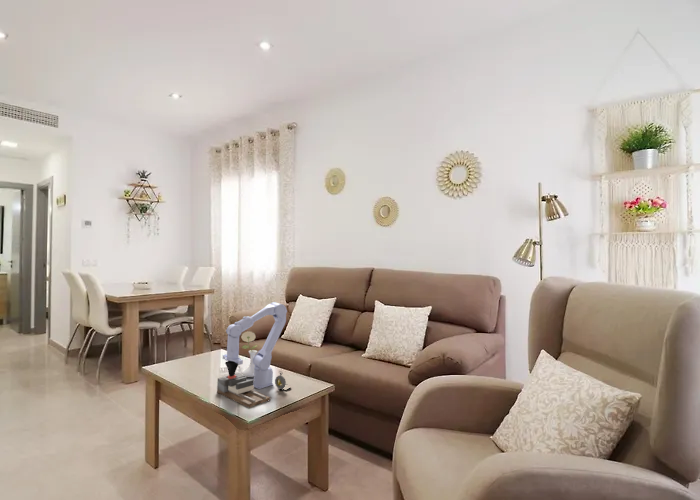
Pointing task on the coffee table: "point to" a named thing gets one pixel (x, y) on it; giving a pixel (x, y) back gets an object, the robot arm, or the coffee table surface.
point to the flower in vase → (248, 338)
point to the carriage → (240, 385)
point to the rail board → (243, 398)
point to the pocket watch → (280, 381)
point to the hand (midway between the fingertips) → (231, 375)
